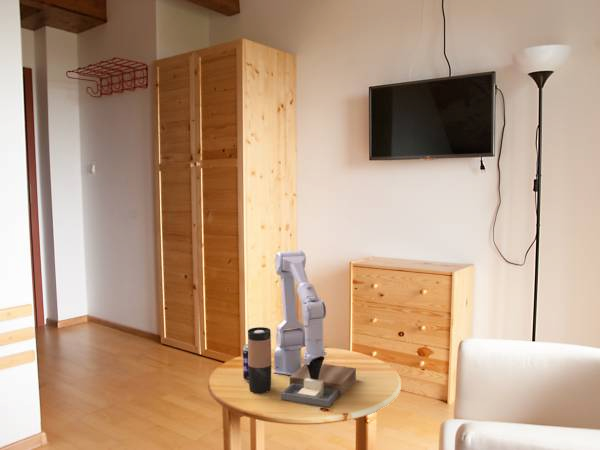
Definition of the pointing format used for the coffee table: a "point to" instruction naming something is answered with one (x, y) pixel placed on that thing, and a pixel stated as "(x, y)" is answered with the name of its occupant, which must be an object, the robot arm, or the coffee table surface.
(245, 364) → the beverage can
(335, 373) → the brown wooden block
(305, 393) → the tile front
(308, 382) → the tile back
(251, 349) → the travel mug
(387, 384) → the coffee table surface
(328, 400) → the box
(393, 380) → the coffee table surface
